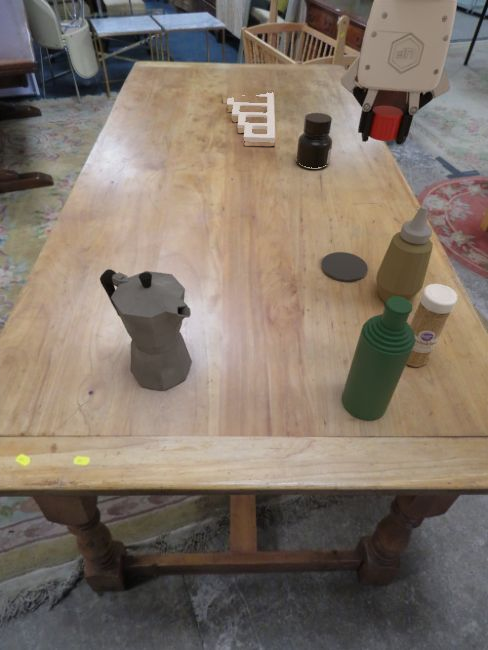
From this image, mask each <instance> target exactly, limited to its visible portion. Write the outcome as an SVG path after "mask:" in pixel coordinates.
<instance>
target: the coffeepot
mask: <svg viewBox="0 0 488 650" xmlns="http://www.w3.org/2000/svg"><path fill="white" fill-rule="evenodd" d="M99 281H100V284H101V286H102V288H103V289H104V291H105V293H106V295H107V297H108V299H109V301H110V303H111V305H112V307H113V308H114V311H115V312H116V314H117V316H118V317H119V318H120V320H121V322H122V324H123V326H124V328H125V330H126V332H127V334H128V336H129V337H130V338H131V341H130V373H131V374H132V375H133V377H134V379H135V380H136V382H137V383H138V385H139V386H140V387H141V388H144V389H148V390H153V391H166V390H170V389H172V388H174V387H176V386H178V385H180V384H182V382H183V381H185V380H187V377H188V374H189V372H190V369H191V365H192V363H193V360H192V359H191V355H190V352H189V349H188V347H187V344H186V341H185V339H184V336H183V335H182V333H181V332H180V331H181V329H182V326H183V320H185V319H186V318H190V317H191V315H192V314H191V308H190V307H189V305H188V304H187V303H186V301H185V292H186V288H185V287H184V286H183V285H182V284H181V283H180V282H179V280H178V279H177V278H176V277H175V276H174V275H173V273H167V272H157V271H149V270H145V271H143V272H140V273H137V274H135V275H134V274H133V275H131V276H129V277H128V275H127V274H124V273H123V272H120V271H119V272H116V271H115V270H113V269H110V268H109V269H106V270H104V271H103V273H101V275H100V278H99Z"/></svg>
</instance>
